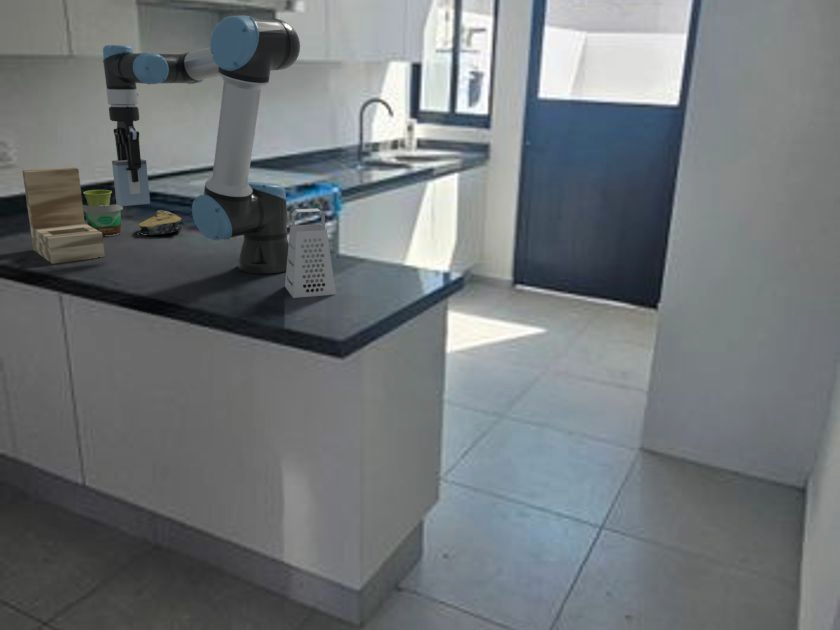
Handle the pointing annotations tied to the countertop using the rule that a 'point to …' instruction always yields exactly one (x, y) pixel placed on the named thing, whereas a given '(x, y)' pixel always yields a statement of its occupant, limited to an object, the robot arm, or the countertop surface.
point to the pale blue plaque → (123, 184)
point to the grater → (309, 259)
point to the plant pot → (98, 197)
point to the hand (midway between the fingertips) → (132, 192)
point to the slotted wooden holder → (59, 216)
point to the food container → (104, 218)
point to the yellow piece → (161, 223)
